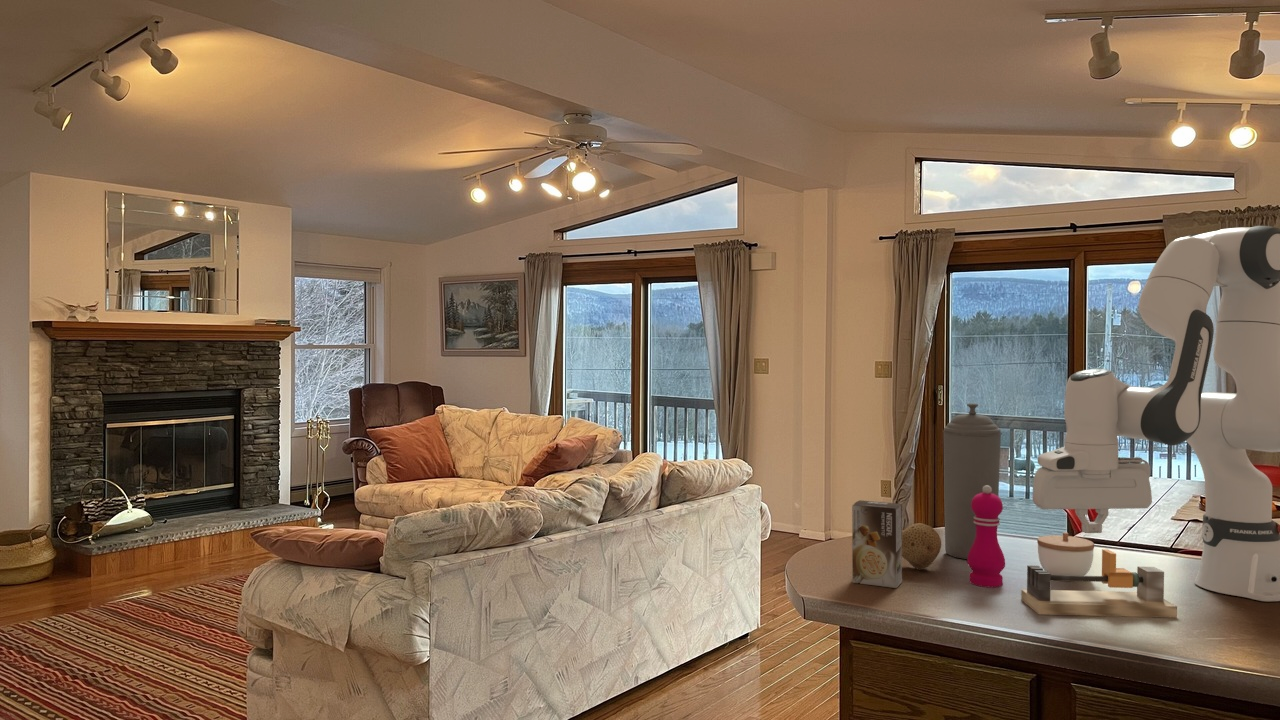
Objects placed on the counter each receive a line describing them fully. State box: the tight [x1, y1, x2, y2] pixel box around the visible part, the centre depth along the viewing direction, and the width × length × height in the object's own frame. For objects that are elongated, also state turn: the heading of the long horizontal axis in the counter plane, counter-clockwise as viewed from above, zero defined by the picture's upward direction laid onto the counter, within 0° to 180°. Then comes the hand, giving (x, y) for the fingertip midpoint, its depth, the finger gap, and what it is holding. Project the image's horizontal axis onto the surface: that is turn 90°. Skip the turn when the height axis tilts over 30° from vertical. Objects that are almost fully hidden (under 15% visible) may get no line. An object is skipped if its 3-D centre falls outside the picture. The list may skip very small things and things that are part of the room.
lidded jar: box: [1036, 531, 1095, 576], centre depth 187 cm, size 11×11×9 cm
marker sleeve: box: [1101, 548, 1134, 589], centre depth 165 cm, size 4×3×6 cm
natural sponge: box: [902, 522, 942, 570], centre depth 193 cm, size 9×9×10 cm
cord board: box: [1020, 564, 1178, 618], centre depth 166 cm, size 24×9×8 cm, turn 86°
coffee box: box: [851, 500, 903, 589], centre depth 183 cm, size 9×6×16 cm
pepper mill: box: [966, 485, 1006, 588], centre depth 182 cm, size 7×7×20 cm
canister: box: [942, 402, 1003, 560], centre depth 206 cm, size 13×13×35 cm
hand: (1091, 532), depth 166 cm, fingers closed
